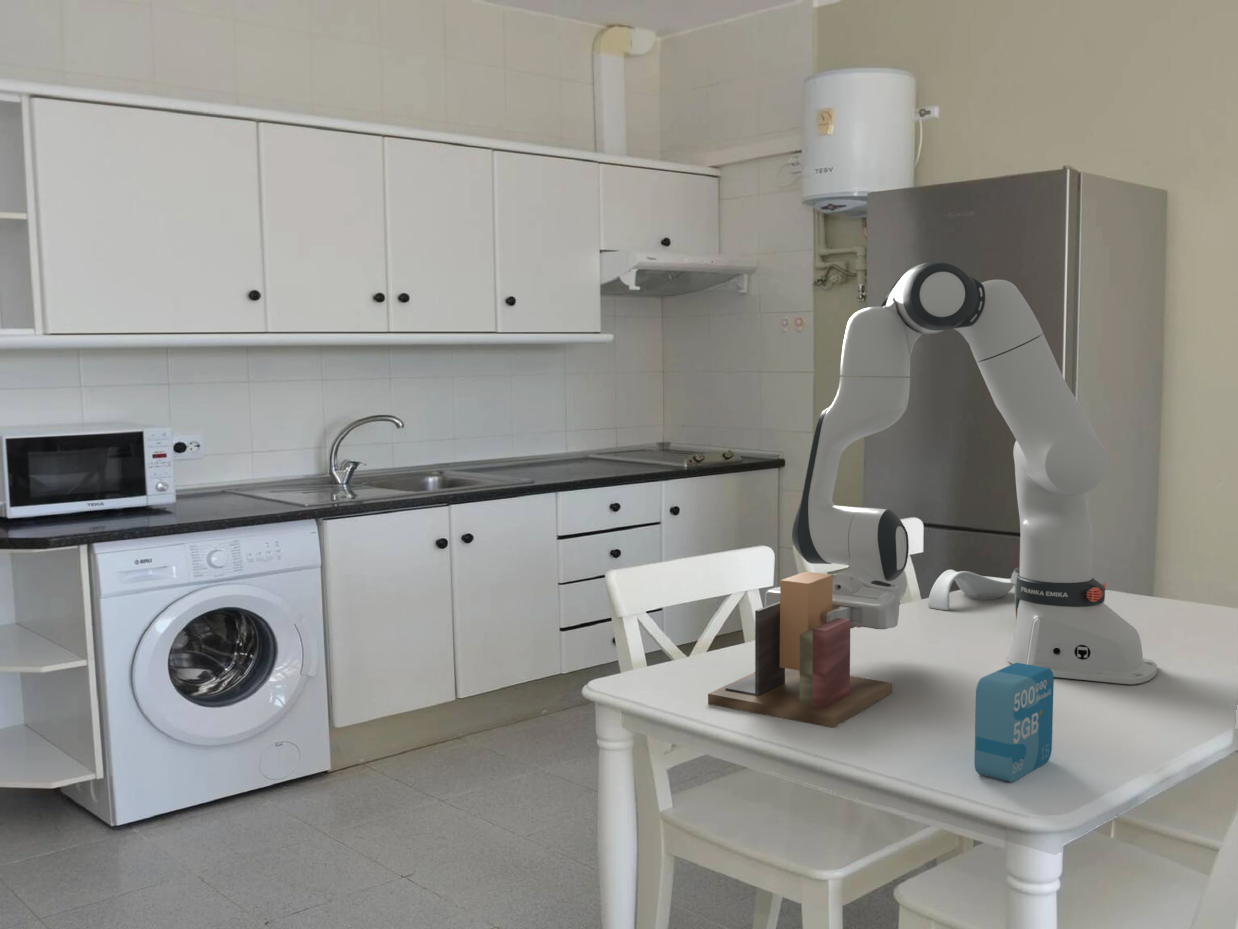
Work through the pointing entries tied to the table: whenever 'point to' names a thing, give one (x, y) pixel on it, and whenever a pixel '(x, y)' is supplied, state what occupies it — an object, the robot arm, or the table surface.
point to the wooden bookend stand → (802, 676)
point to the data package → (1013, 721)
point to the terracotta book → (801, 611)
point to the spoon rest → (967, 587)
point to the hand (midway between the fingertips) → (806, 615)
